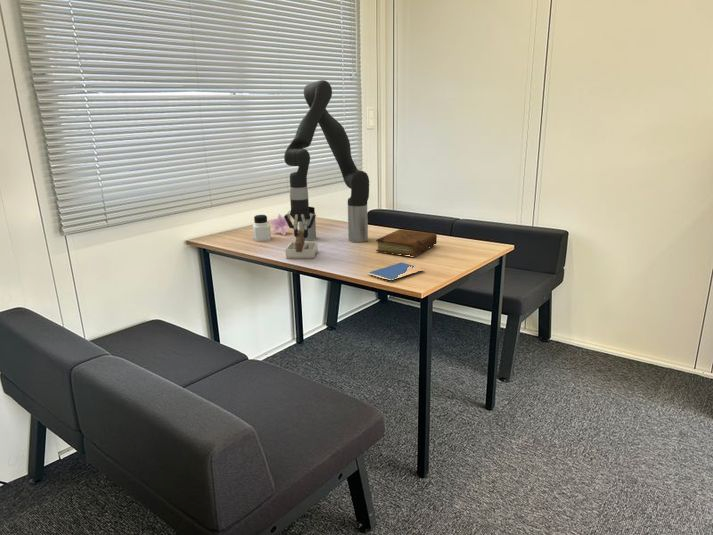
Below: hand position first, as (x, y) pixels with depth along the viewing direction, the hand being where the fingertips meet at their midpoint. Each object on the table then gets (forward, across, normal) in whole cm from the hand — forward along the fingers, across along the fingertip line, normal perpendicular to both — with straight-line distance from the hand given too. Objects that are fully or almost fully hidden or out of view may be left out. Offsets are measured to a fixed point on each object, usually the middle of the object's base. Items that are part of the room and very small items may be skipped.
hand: (301, 237), depth 216 cm
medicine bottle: (+8, +24, -26) cm, 36 cm away
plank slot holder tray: (+8, 0, 0) cm, 8 cm away
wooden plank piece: (+2, 0, +9) cm, 9 cm away
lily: (+8, +16, -40) cm, 44 cm away
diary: (+8, -46, -11) cm, 48 cm away
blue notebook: (+8, -40, +24) cm, 48 cm away
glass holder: (+8, +4, -28) cm, 29 cm away
